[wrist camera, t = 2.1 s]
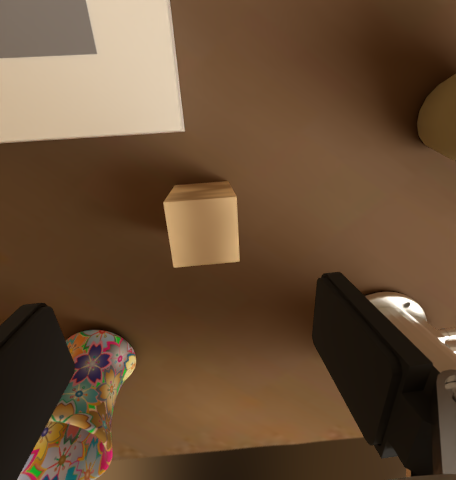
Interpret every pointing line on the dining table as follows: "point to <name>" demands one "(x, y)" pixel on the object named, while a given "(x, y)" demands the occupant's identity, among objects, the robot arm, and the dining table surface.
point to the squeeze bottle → (440, 119)
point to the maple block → (202, 224)
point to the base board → (87, 69)
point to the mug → (83, 411)
